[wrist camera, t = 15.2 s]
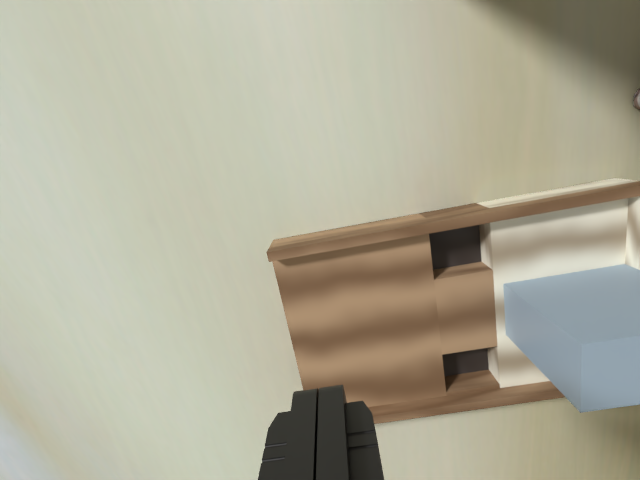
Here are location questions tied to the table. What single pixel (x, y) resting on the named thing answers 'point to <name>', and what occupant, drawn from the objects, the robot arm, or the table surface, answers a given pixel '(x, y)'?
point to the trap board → (442, 295)
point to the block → (581, 333)
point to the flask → (637, 99)
